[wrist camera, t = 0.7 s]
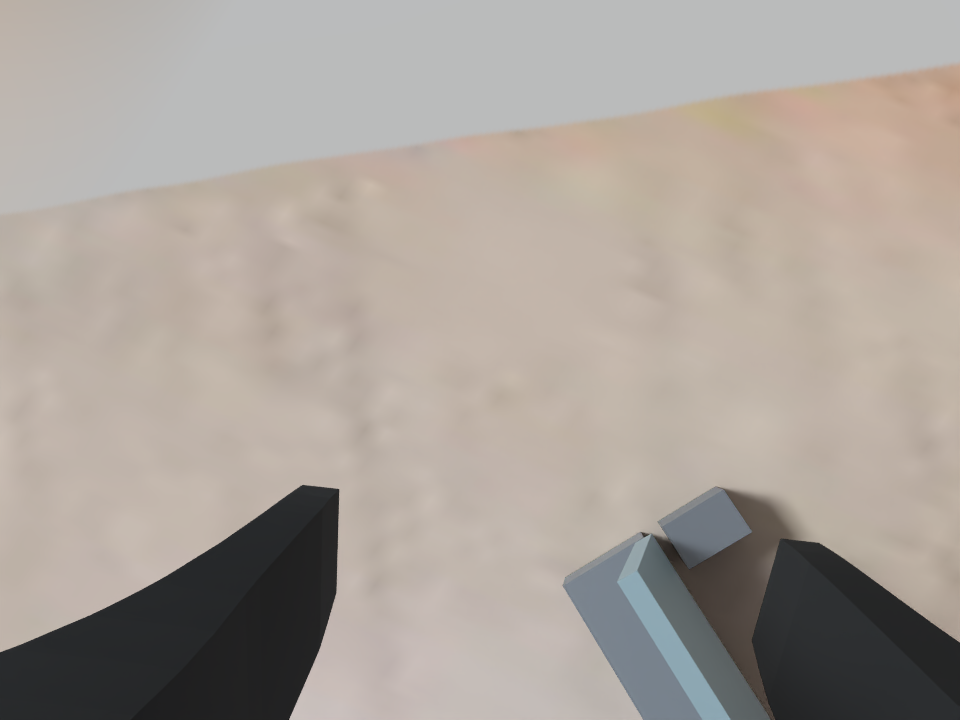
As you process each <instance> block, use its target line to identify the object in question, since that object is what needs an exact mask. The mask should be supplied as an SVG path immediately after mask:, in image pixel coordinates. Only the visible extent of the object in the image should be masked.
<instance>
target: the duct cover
mask: <svg viewBox="0 0 960 720" xmlns="http://www.w3.org/2000/svg"><path fill="white" fill-rule="evenodd" d="M617 583H618V584H619V586H620V587H621V589H622V591H623V592H624V594H625V596H626V597H627V599H628V600H629V602H630V604H631V605H632V607H633V608H634V610H635V612H636V613H637V615H638V617H639V618H640V620H641V621H642V623H643V625H644V626H645V628H646V629H647V631H648V633H649V634H650V636H651V638H652V639H653V641H654V642H655V644H656V646H657V647H658V649H659V650H660V652H661V654H662V655H663V657H664V658H665V660H666V662H667V663H668V665H669V667H670V668H671V670H672V671H673V673H674V675H675V676H676V678H677V679H678V681H679V683H680V684H681V686H682V688H683V689H684V691H685V692H686V694H687V696H688V697H689V699H690V700H691V702H692V704H693V705H694V707H695V709H696V710H697V712H698V713H699V715H700V717H701V718H702V720H771V719H770V718H769V716H768V714H767V713H766V711H765V710H764V708H763V707H762V705H761V703H760V702H759V700H758V699H757V697H756V696H755V694H754V693H753V691H752V689H751V688H750V686H749V685H748V683H747V682H746V680H745V678H744V677H743V675H742V674H741V672H740V671H739V669H738V668H737V666H736V664H735V663H734V661H733V660H732V658H731V657H730V655H729V653H728V652H727V650H726V649H725V647H724V646H723V644H722V643H721V641H720V639H719V638H718V636H717V635H716V633H715V632H714V630H713V628H712V627H711V625H710V624H709V622H708V621H707V619H706V618H705V616H704V614H703V613H702V611H701V610H700V608H699V607H698V605H697V603H696V602H695V600H694V599H693V597H692V596H691V594H690V593H689V591H688V589H687V588H686V586H685V585H684V583H683V582H682V580H681V578H680V577H679V575H678V574H677V572H676V571H675V569H674V568H673V566H672V564H671V563H670V561H669V560H668V558H667V557H666V555H665V553H664V552H663V550H662V549H661V547H660V546H659V544H658V543H657V541H656V539H655V538H654V536H653V535H652V533H651V534H650V535H648V536H646V537H644V538H643V539H641V540H639V541H637V542H636V543H635V545H634V547H633V549H632V551H631V553H630V555H629V557H628V559H627V562H626V564H625V566H624V568H623V570H622V572H621V574H620V576H619V579H618V581H617Z"/></svg>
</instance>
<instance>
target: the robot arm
mask: <svg viewBox="0 0 960 720" xmlns="http://www.w3.org/2000/svg"><path fill="white" fill-rule="evenodd" d="M338 514H339V489H334V488H325V487H316V486H307V485H302V486H300V487H299V488H297V489H296V490H294V491H293V492H292V493H290V494H289V495H287V496H286V497H285V498H283V499H282V500H280V501H279V502H278V503H276V504H275V505H273V506H272V507H271V508H269V509H268V510H267V511H265V512H264V513H262V514H261V515H260V516H258V517H257V518H255V519H254V520H253V521H251V522H250V523H248V524H247V525H245V526H244V527H242V528H241V529H240V530H238V531H237V532H235V533H234V534H232V535H231V536H229V537H228V538H227V539H225V540H224V541H222V542H221V543H219V544H218V545H216V546H214V547H213V548H211V549H209V550H208V551H206V552H205V553H203V554H201V555H200V556H198V557H197V558H195V559H193V560H192V561H190V562H188V563H187V564H185V565H184V566H182V567H180V568H179V569H177V570H176V571H174V572H172V573H171V574H169V575H167V576H166V577H164V578H162V579H160V580H159V581H157V582H155V583H153V584H151V585H149V586H148V587H146V588H144V589H142V590H140V591H138V592H136V593H134V594H132V595H131V596H129V597H127V598H125V599H123V600H121V601H119V602H117V603H115V604H113V605H111V606H109V607H107V608H105V609H103V610H100V611H98V612H96V613H94V614H92V615H90V616H87V617H85V618H83V619H80V620H78V621H76V622H73V623H71V624H69V625H66V626H64V627H61V628H59V629H57V630H54V631H52V632H50V633H47V634H45V635H43V636H40V637H38V638H36V639H33V640H31V641H28V642H26V643H24V644H21V645H19V646H16V647H13V648H11V649H8V650H5V651H3V652H0V720H289V718H290V716H291V714H292V712H293V709H294V707H295V705H296V702H297V700H298V698H299V696H300V693H301V691H302V689H303V686H304V684H305V682H306V679H307V677H308V675H309V673H310V670H311V668H312V666H313V663H314V661H315V659H316V656H317V654H318V651H319V649H320V646H321V643H322V640H323V636H324V633H325V630H326V626H327V623H328V620H329V616H330V613H331V609H332V606H333V602H334V599H335V595H336V586H337V550H338ZM752 643H753V647H754V651H755V655H756V659H757V663H758V667H759V671H760V675H761V678H762V682H763V685H764V689H765V692H766V696H767V699H768V702H769V705H770V707H771V710H772V712H773V715H774V717H775V720H960V643H959V642H958V641H957V640H955V639H954V638H952V637H951V636H949V635H948V634H947V633H945V632H944V631H942V630H941V629H940V628H938V627H937V626H935V625H934V624H933V623H931V622H930V621H928V620H927V619H926V618H924V617H923V616H921V615H920V614H919V613H917V612H916V611H915V610H913V609H912V608H910V607H909V606H908V605H906V604H905V603H904V602H902V601H901V600H900V599H898V598H897V597H895V596H894V595H893V594H891V593H890V592H889V591H887V590H886V589H885V588H883V587H882V586H880V585H879V584H878V583H876V582H875V581H874V580H872V579H871V578H870V577H868V576H867V575H866V574H864V573H863V572H861V571H860V570H859V569H857V568H856V567H854V566H853V565H852V564H850V563H849V562H847V561H846V560H845V559H843V558H842V557H840V556H839V555H837V554H836V553H834V552H833V551H831V550H830V549H828V548H826V547H825V546H823V545H821V544H820V543H815V542H806V541H797V540H788V539H780V543H779V546H778V550H777V553H776V557H775V560H774V564H773V567H772V571H771V574H770V578H769V582H768V585H767V589H766V592H765V596H764V599H763V603H762V606H761V610H760V614H759V617H758V621H757V624H756V628H755V631H754V635H753V638H752Z"/></svg>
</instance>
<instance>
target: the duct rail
mask: <svg viewBox="0 0 960 720" xmlns="http://www.w3.org/2000/svg"><path fill="white" fill-rule="evenodd" d="M658 523H659V524H660V526H661V527H662V529H663V530H664V532H665V534H666V535H667V537H668V538H669V540H670V541H671V543H672V544H673V546H674V548H675V549H676V551H677V552H678V554H679V555H680V557H681V558H682V560H683V561H684V563H685V564H686V566H687V567H688V569H691V568H693V567H694V566H696V565H698V564H699V563H701V562H703V561H704V560H706V559H708V558H709V557H711V556H713V555H714V554H716V553H718V552H719V551H721V550H723V549H724V548H726V547H728V546H729V545H731V544H733V543H734V542H736V541H738V540H739V539H741V538H743V537H745V536H746V535H748V534H750V533H751V532H752V531H751V529H750V528H749V526H748V525H747V523H746V522H745V520H744V519H743V517H742V516H741V514H740V513H739V511H738V510H737V508H736V507H735V506H734V504H733V503H732V501H731V500H730V498H729V497H728V495H727V494H726V492H725V491H724V489H721V488H718V487H714V488H712V489H711V490H709V491H707V492H706V493H704V494H702V495H701V496H699V497H697V498H696V499H694V500H692V501H691V502H689V503H687V504H686V505H684V506H682V507H681V508H679V509H678V510H676V511H674V512H673V513H671V514H669V515H668V516H666V517H664V518H663V519H661V520H659V521H658ZM643 538H644V536H643V535H642V533H641V532H640V533H638V534H636V535H635V536H633V537H631V538H630V539H628V540H626V541H625V542H623V543H621V544H620V545H618V546H616V547H615V548H613V549H611V550H610V551H608V552H606V553H605V554H603V555H602V556H600V557H598V558H597V559H595V560H593V561H592V562H590V563H588V564H587V565H585V566H583V567H582V568H580V569H578V570H577V571H575V572H573V573H572V574H570V575H568V576H567V577H565V580H564V584H563V587H564V589H565V590H566V592H567V594H568V595H569V597H570V599H571V600H572V602H573V604H574V605H575V607H576V609H577V610H578V612H579V614H580V615H581V617H582V618H583V620H584V622H585V623H586V625H587V627H588V628H589V630H590V632H591V633H592V635H593V637H594V638H595V640H596V642H597V643H598V645H599V647H600V648H601V650H602V652H603V653H604V655H605V657H606V658H607V660H608V662H609V663H610V665H611V667H612V668H613V670H614V672H615V673H616V675H617V677H618V678H619V680H620V682H621V683H622V685H623V687H624V688H625V690H626V692H627V693H628V695H629V697H630V698H631V700H632V702H633V703H634V705H635V707H636V708H637V710H638V712H639V713H640V715H641V717H642V718H643V720H702V718H701V717H700V715H699V713H698V712H697V710H696V709H695V707H694V705H693V704H692V702H691V700H690V699H689V697H688V696H687V694H686V692H685V691H684V689H683V688H682V686H681V684H680V683H679V681H678V679H677V678H676V676H675V675H674V673H673V671H672V670H671V668H670V667H669V665H668V663H667V662H666V660H665V658H664V657H663V655H662V654H661V652H660V650H659V649H658V647H657V646H656V644H655V642H654V641H653V639H652V638H651V636H650V634H649V633H648V631H647V629H646V628H645V626H644V625H643V623H642V621H641V620H640V618H639V617H638V615H637V613H636V612H635V610H634V608H633V607H632V605H631V604H630V602H629V600H628V599H627V597H626V596H625V594H624V592H623V591H622V589H621V587H620V586H619V584H618V583H617V581H618V579H619V576H620V574H621V572H622V570H623V568H624V566H625V564H626V562H627V559H628V557H629V555H630V553H631V551H632V549H633V547H634V545H635V543H636V542H637V541H639V540H641V539H643Z"/></svg>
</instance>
